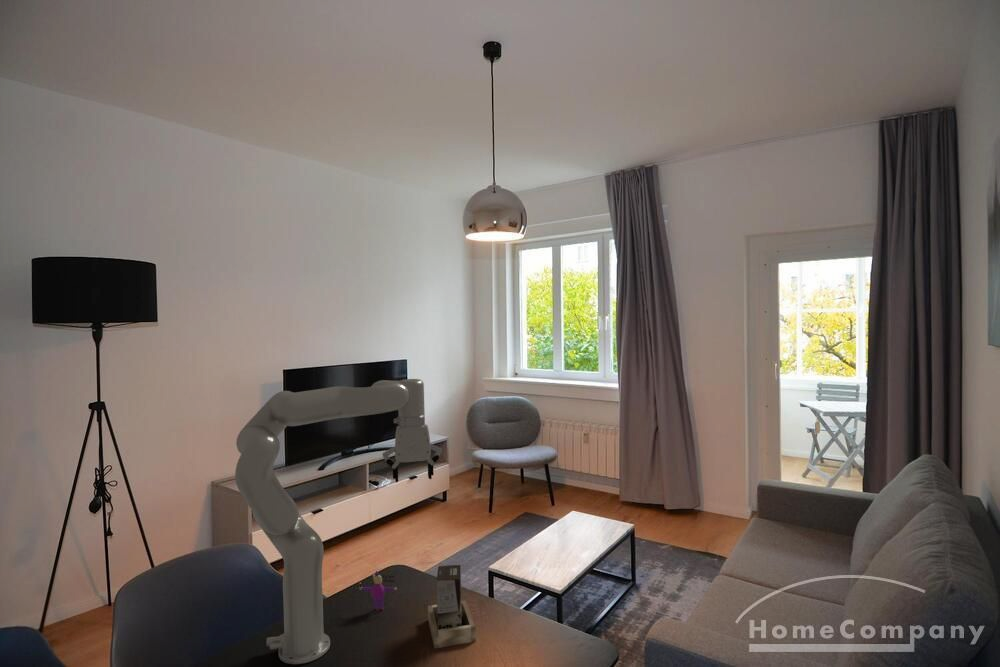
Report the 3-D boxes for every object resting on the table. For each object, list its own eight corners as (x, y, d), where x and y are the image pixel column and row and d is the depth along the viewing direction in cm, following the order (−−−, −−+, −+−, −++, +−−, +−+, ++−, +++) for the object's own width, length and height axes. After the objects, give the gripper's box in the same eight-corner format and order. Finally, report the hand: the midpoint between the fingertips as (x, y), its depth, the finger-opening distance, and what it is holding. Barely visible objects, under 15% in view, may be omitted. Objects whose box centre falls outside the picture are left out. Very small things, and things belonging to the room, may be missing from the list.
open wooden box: (434, 648, 138) (434, 633, 138) (428, 619, 152) (427, 605, 152) (475, 641, 141) (475, 626, 141) (466, 613, 155) (465, 600, 155)
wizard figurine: (398, 608, 159) (397, 568, 158) (395, 614, 155) (394, 573, 155) (361, 607, 159) (360, 567, 159) (357, 613, 156) (356, 572, 156)
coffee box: (461, 639, 142) (460, 579, 142) (437, 640, 142) (435, 580, 142) (462, 620, 151) (461, 563, 151) (439, 621, 151) (438, 564, 151)
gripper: (382, 425, 151) (383, 486, 152) (443, 421, 156) (444, 480, 156) (381, 421, 159) (382, 478, 159) (439, 417, 163) (440, 473, 163)
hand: (413, 479), depth 157 cm, fingers open, 9 cm apart
